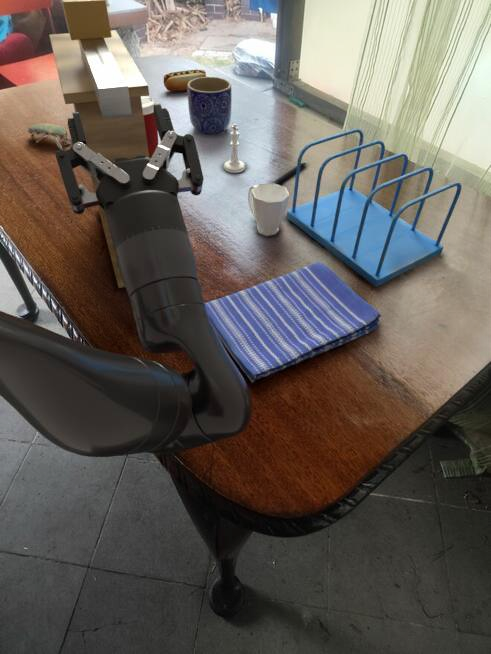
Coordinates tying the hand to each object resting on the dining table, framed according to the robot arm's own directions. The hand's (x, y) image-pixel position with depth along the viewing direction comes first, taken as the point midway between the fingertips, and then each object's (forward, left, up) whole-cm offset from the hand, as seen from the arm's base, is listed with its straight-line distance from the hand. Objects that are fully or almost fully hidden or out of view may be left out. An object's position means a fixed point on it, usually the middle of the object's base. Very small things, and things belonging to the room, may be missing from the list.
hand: (117, 113), depth 49 cm
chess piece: (+20, +46, -31) cm, 59 cm away
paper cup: (0, +50, -31) cm, 59 cm away
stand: (-4, +20, -31) cm, 37 cm away
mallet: (-2, +10, 0) cm, 11 cm away
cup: (+22, +22, -31) cm, 44 cm away
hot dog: (+13, +96, -31) cm, 102 cm away
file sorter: (+40, +16, -31) cm, 54 cm away
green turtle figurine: (-23, +64, -31) cm, 75 cm away
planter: (+17, +67, -31) cm, 76 cm away
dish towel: (+21, -4, -31) cm, 38 cm away
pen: (+31, +40, -31) cm, 60 cm away
